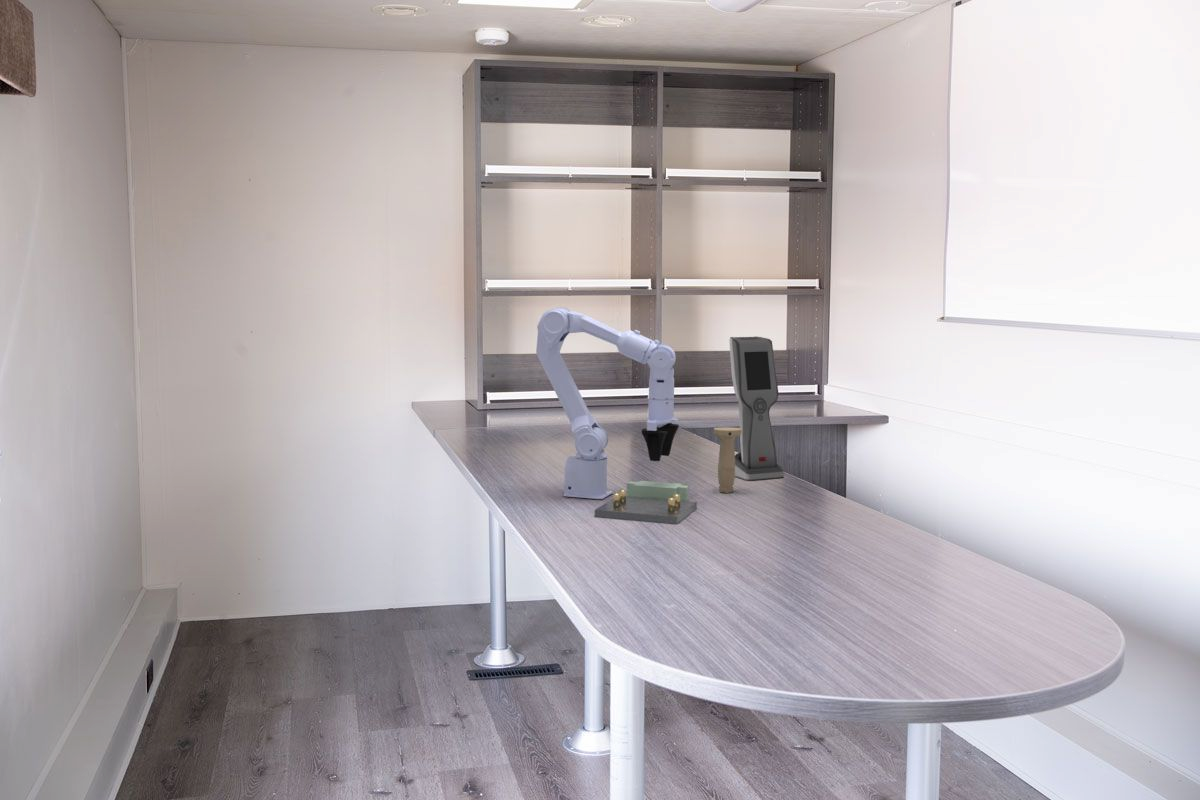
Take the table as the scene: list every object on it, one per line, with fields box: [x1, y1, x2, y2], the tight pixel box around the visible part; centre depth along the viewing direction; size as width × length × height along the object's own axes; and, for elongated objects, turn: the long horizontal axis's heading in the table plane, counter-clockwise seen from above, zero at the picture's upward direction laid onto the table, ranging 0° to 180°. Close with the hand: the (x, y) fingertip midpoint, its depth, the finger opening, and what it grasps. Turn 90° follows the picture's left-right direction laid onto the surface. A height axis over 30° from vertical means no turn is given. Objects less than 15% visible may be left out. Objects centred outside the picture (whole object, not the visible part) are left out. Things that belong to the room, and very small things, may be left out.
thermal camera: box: [728, 336, 785, 481], centre depth 278 cm, size 12×13×35 cm
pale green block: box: [626, 480, 690, 501], centre depth 250 cm, size 14×6×3 cm, turn 71°
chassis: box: [594, 489, 698, 525], centre depth 236 cm, size 18×16×4 cm
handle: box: [713, 426, 741, 494], centre depth 258 cm, size 5×6×15 cm
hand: (659, 458), depth 249 cm, fingers open, 7 cm apart
